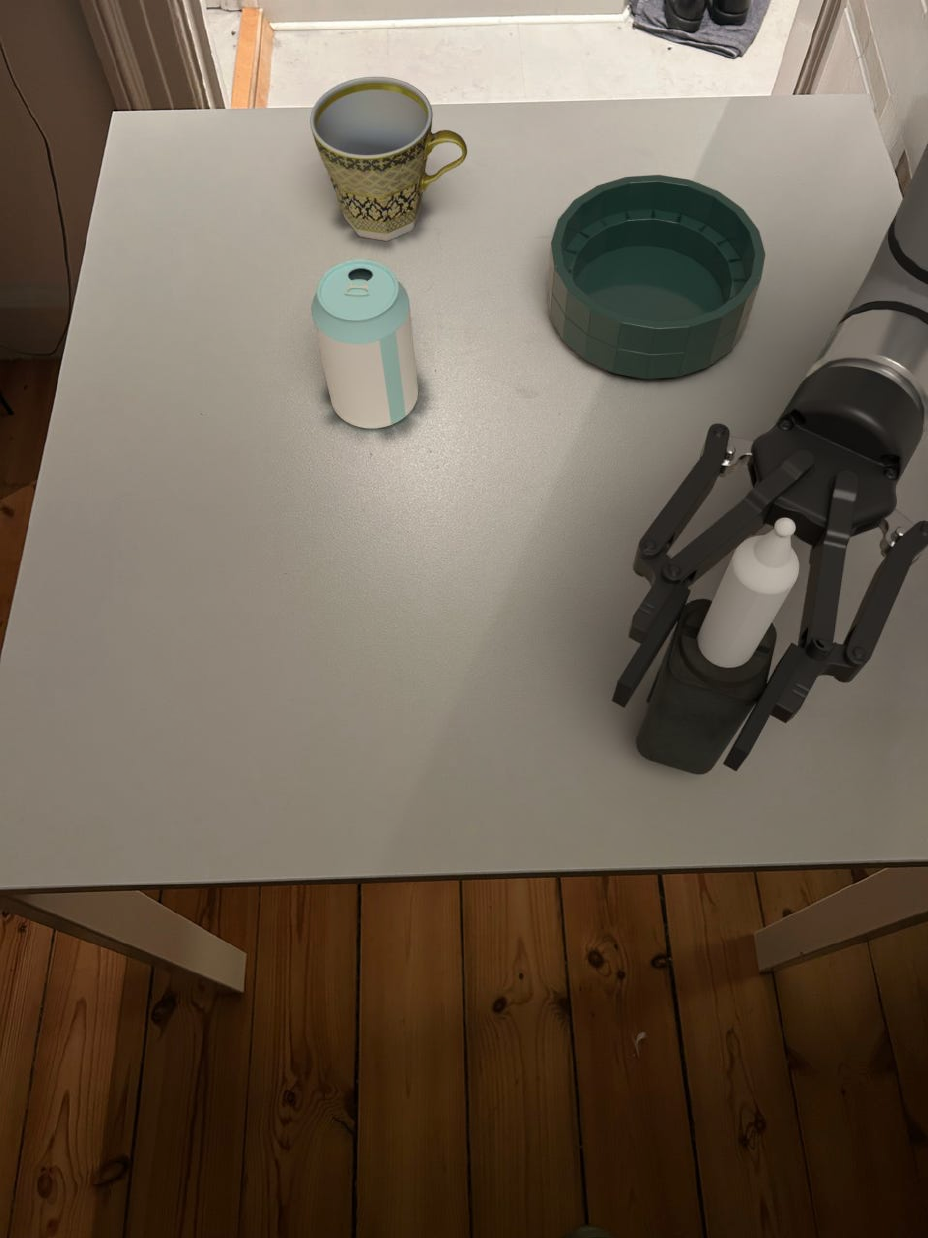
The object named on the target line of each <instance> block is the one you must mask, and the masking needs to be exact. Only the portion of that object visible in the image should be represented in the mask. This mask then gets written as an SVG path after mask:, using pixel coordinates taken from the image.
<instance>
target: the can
mask: <svg viewBox="0 0 928 1238" xmlns="http://www.w3.org/2000/svg"><path fill="white" fill-rule="evenodd" d="M311 317H312V322H313V326H314V329H315V336H316V340H317V344H318V349H319V353H320V358H321V362H322V366H323V371H324V376H325V380H326V384H327V390H328V393H329V398H330V402H331V405H332V409H333V410H334V412H335V413H336V414H337V415H338V417H340V418H341V420H343V421H345V422H346V423H348V424H349V425H352V426H355V427H358V428H363V429H380V428H386V427H389V426H392V425H394V424H397V423H398V422H400V421H402V420H403V419H405V418H406V417H407V416H408V415H409V414H410V413H411V412H412V411H413V409H414V408H415V405H416V403H417V401H418V397H419V385H418V375H417V364H416V355H415V354H416V353H415V345H414V344H415V343H414V335H413V324H412V315H411V303H410V297H409V294H408V292H407V290H406V288H405V287H404V286H403V284H402V283H401V282H400V281H399V280H398V278H397V276H396V274H395V273H394V271H393V270H392V269H391V268H389V267H388V266H387V265H385V264H383V263H381V262H379V261H375V260H371V259H365V258H355V259H349V260H345V261H342V262H339V263H337V264H335V265H334V266H332V267H330V268H329V269H328V270H326V272H325V273H323V275H322V276H321V278H320V279H319V280H318V283H317V287H316V292H315V294H314V296H313V298H312V302H311Z"/></svg>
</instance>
